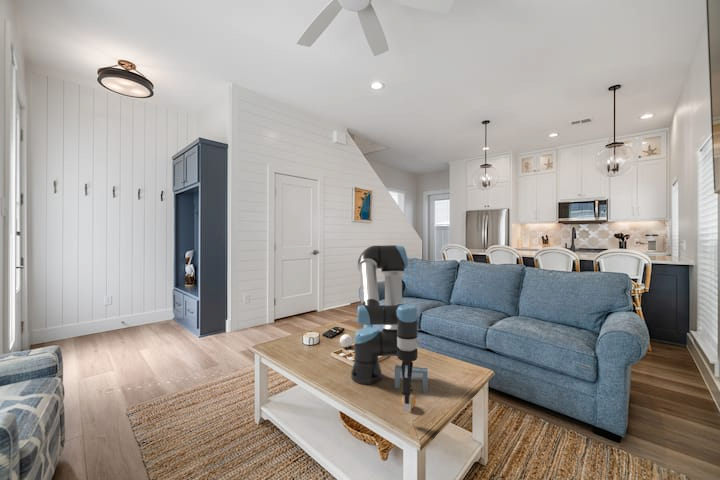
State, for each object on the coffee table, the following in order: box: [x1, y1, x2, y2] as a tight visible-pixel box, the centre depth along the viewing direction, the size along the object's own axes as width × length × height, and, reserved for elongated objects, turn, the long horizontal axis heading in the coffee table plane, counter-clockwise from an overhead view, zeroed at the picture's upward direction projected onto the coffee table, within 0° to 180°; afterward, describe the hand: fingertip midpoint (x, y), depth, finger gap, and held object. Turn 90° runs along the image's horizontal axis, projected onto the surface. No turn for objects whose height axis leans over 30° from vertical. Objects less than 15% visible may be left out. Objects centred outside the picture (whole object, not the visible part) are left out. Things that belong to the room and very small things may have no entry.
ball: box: [401, 394, 416, 409], centre depth 125 cm, size 6×6×6 cm
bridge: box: [394, 364, 429, 392], centre depth 141 cm, size 3×14×9 cm, turn 77°
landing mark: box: [400, 371, 423, 382], centre depth 155 cm, size 13×13×1 cm
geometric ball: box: [339, 333, 353, 348], centre depth 190 cm, size 8×8×8 cm
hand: (407, 410), depth 116 cm, fingers closed
